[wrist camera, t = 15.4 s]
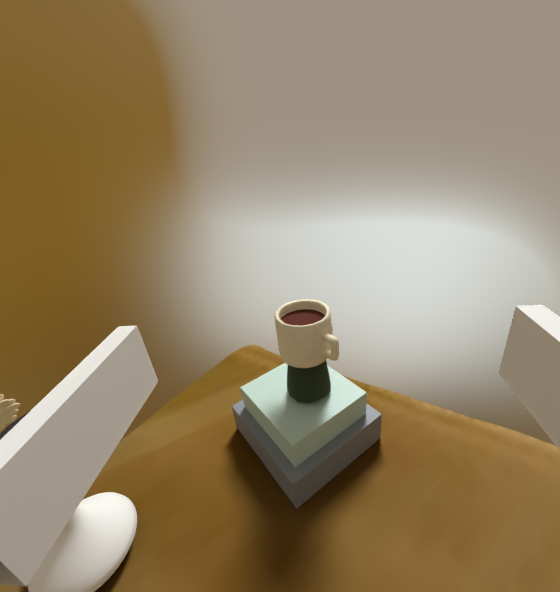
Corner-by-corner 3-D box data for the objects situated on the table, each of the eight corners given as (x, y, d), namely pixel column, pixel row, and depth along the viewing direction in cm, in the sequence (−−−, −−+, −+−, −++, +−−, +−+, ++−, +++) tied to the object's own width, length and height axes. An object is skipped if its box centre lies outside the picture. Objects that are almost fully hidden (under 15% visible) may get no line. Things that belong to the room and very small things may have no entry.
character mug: (355, 394, 42) (355, 313, 37) (322, 426, 38) (316, 340, 32) (299, 362, 50) (292, 290, 44) (266, 386, 46) (253, 310, 40)
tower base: (311, 382, 58) (307, 343, 54) (380, 438, 46) (382, 393, 42) (237, 428, 50) (227, 386, 47) (296, 509, 38) (289, 462, 34)
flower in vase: (143, 487, 43) (70, 341, 32) (139, 583, 33) (32, 421, 22) (37, 528, 40) (-86, 381, 29) (-2, 649, 30) (-211, 496, 19)
